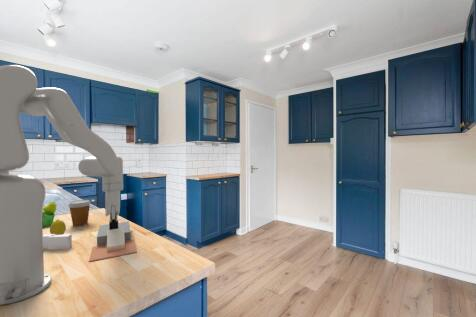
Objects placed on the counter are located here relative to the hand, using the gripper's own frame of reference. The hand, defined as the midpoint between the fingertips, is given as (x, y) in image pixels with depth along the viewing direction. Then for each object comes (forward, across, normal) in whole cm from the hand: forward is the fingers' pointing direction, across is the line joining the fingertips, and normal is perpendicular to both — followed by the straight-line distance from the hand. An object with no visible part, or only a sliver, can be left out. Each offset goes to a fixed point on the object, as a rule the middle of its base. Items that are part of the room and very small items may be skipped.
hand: (114, 230), depth 94 cm
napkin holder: (+6, -7, -21) cm, 23 cm away
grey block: (+5, -6, 0) cm, 8 cm away
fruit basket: (+5, -46, -32) cm, 56 cm away
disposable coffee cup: (+5, -36, -16) cm, 39 cm away
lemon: (+5, -19, -22) cm, 29 cm away
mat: (+5, +8, 0) cm, 9 cm away
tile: (+3, +5, +1) cm, 6 cm away
